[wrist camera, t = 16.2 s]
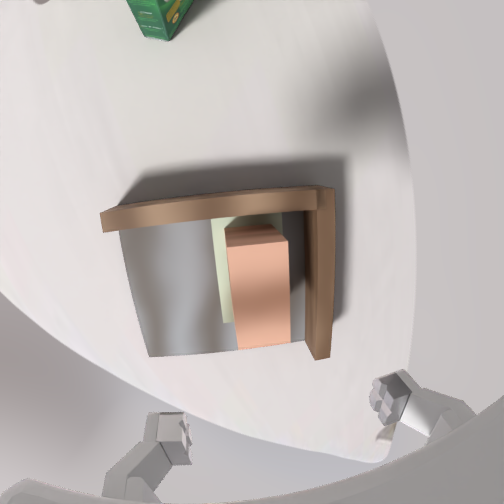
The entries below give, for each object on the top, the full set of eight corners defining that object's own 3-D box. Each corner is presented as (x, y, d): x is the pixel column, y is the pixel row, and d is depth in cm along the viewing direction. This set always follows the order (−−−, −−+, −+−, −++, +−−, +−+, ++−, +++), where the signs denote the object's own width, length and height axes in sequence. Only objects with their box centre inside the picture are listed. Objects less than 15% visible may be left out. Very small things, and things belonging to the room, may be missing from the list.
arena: (149, 354, 28) (143, 379, 24) (116, 205, 23) (99, 213, 19) (317, 335, 29) (329, 357, 26) (317, 185, 25) (334, 188, 21)
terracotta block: (224, 228, 24) (226, 247, 19) (271, 223, 25) (287, 241, 19) (233, 312, 27) (238, 349, 21) (275, 307, 27) (290, 342, 21)
